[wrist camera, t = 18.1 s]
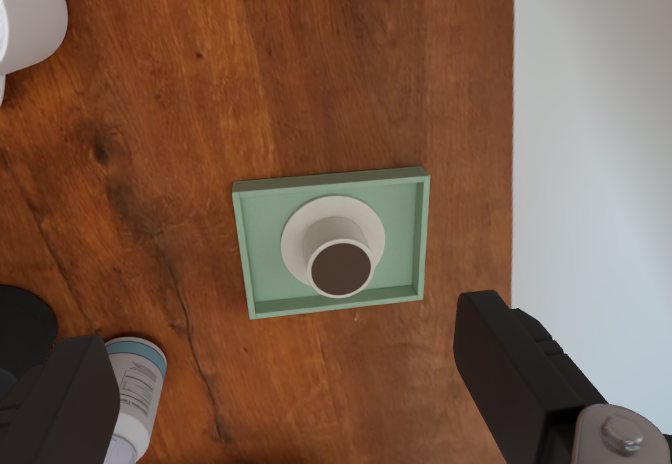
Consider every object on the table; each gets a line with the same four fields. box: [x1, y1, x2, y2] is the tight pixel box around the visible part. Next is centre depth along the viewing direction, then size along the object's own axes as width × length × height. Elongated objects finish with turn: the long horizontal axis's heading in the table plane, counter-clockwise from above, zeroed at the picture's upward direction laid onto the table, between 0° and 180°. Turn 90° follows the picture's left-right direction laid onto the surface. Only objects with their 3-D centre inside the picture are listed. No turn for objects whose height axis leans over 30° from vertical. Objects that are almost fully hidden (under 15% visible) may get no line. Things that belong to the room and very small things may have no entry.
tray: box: [232, 166, 430, 320], centre depth 45 cm, size 17×13×3 cm
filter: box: [280, 194, 385, 298], centre depth 44 cm, size 10×10×5 cm
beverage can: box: [103, 337, 167, 464], centre depth 44 cm, size 7×7×12 cm
